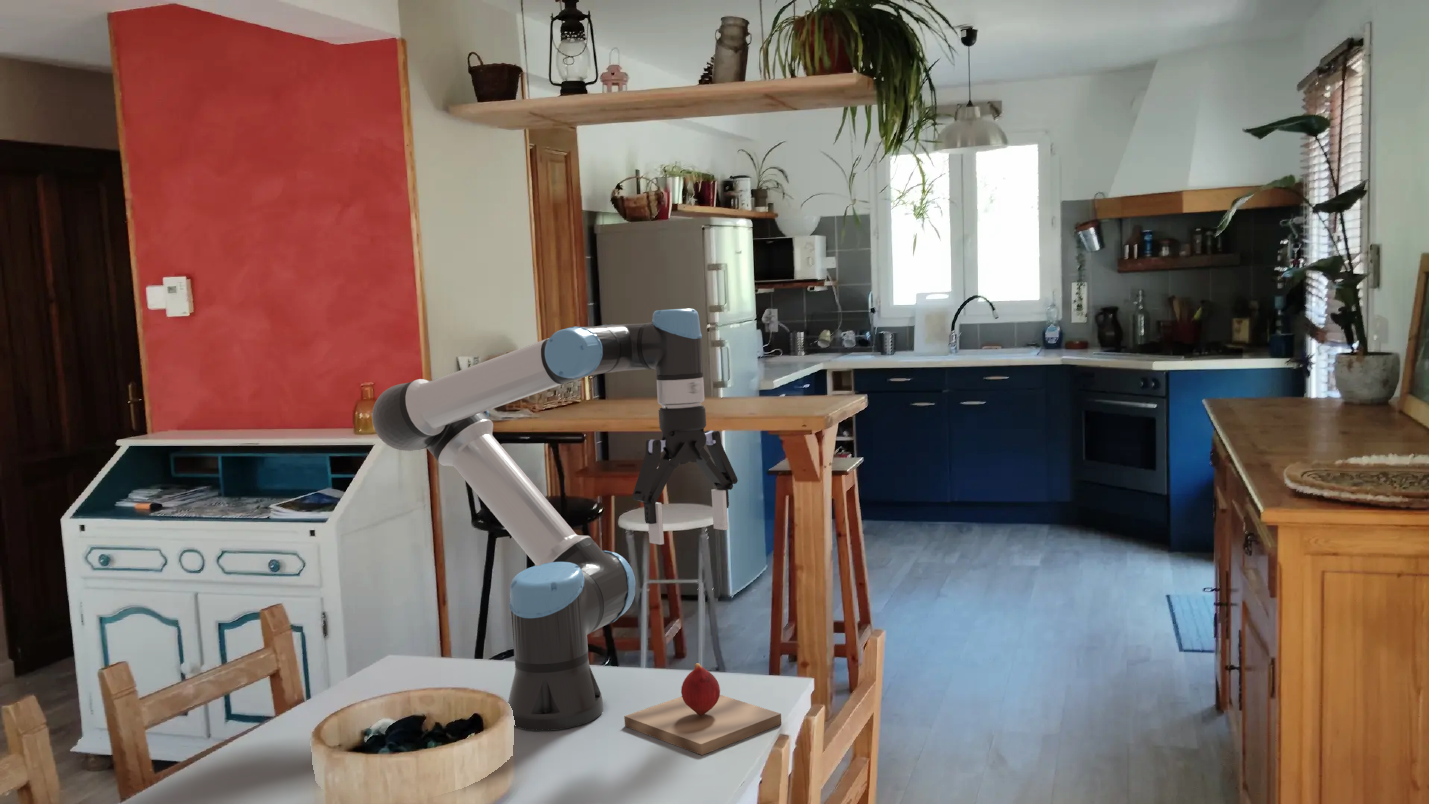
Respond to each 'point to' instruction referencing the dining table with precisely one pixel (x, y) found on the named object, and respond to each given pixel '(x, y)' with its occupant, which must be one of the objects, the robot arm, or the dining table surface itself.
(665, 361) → the robot arm
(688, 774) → the dining table surface
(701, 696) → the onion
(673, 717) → the chopping board
